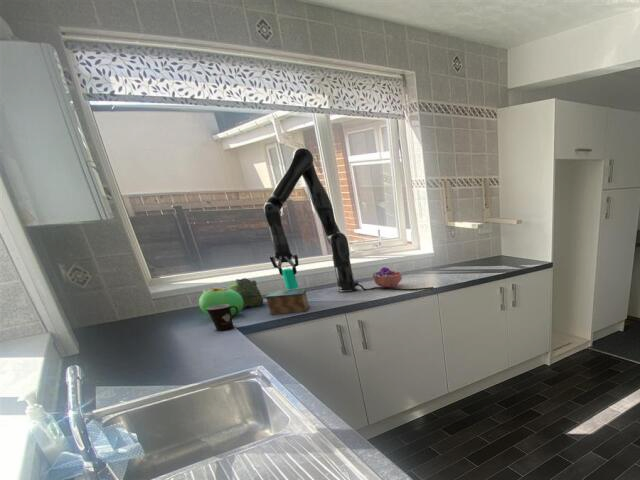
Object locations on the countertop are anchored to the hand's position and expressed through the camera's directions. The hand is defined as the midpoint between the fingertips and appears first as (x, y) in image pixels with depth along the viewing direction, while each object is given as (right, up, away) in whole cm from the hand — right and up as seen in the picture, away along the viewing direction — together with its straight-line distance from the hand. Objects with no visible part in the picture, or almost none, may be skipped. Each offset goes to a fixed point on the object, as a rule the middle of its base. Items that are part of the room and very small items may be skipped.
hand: (288, 274), depth 233 cm
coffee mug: (-4, -36, -44) cm, 56 cm away
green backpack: (-18, -21, -11) cm, 29 cm away
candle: (0, -7, +3) cm, 8 cm away
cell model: (+49, -2, +23) cm, 54 cm away
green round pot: (-17, -28, -26) cm, 41 cm away
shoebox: (+11, -23, -19) cm, 32 cm away
